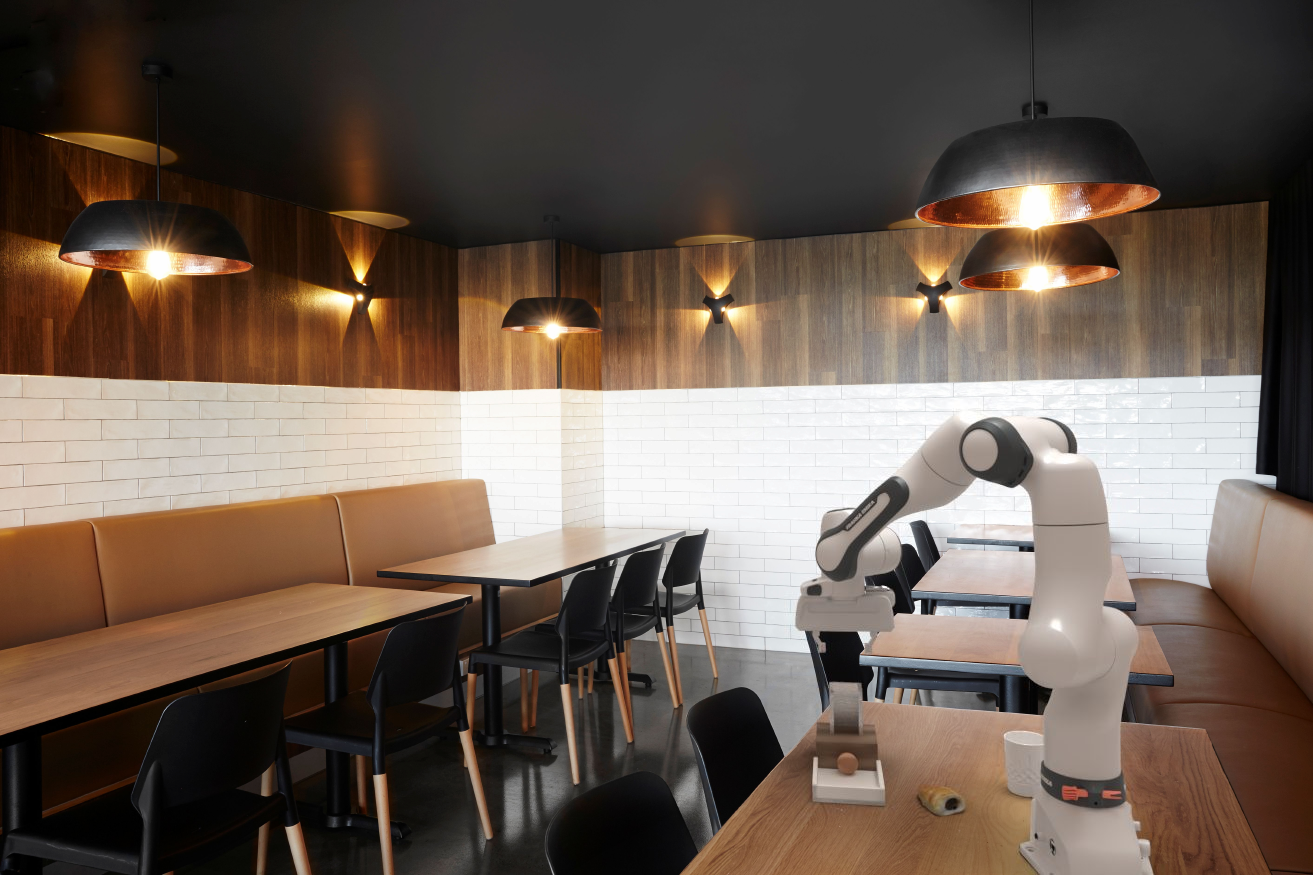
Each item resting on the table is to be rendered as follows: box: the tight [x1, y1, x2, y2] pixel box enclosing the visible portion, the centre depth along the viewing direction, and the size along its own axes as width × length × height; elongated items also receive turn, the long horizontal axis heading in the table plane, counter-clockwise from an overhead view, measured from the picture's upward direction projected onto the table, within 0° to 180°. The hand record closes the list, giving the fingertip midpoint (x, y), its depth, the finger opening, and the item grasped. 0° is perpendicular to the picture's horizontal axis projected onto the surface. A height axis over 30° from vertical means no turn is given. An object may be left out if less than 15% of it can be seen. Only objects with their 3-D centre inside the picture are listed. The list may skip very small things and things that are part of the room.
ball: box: [837, 753, 858, 774], centre depth 174 cm, size 4×4×4 cm
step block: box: [815, 721, 879, 771], centre depth 183 cm, size 12×12×6 cm
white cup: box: [1003, 730, 1044, 799], centre depth 166 cm, size 8×8×10 cm
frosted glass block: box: [828, 681, 864, 735], centre depth 185 cm, size 6×7×9 cm
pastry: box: [916, 784, 967, 817], centre depth 161 cm, size 9×7×4 cm
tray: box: [811, 756, 886, 807], centre depth 169 cm, size 15×13×3 cm
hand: (845, 652), depth 184 cm, fingers open, 8 cm apart
